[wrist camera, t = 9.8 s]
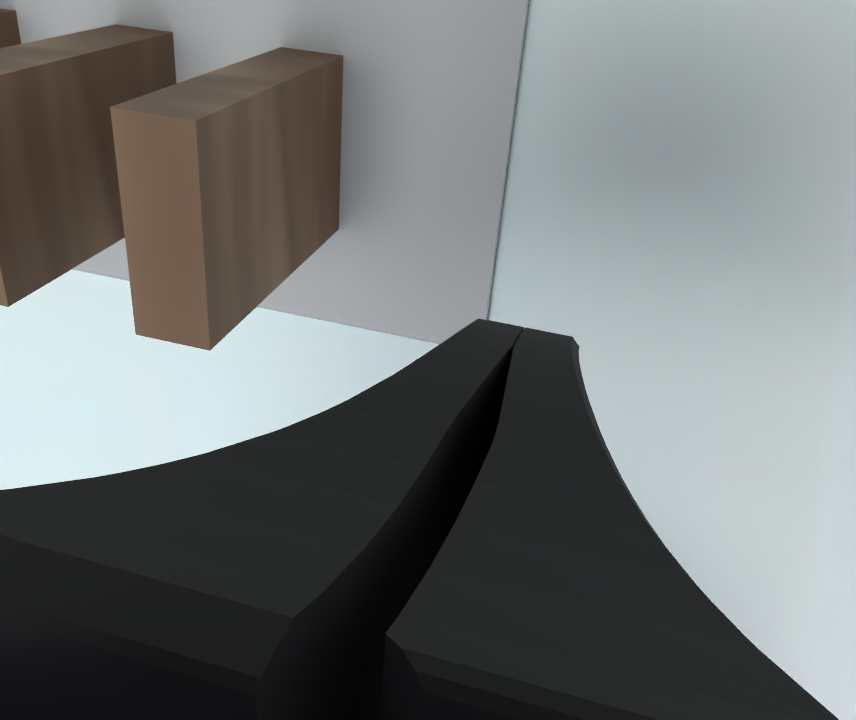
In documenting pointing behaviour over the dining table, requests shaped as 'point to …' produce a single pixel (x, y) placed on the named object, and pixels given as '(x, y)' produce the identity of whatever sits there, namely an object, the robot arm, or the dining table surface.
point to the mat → (367, 140)
